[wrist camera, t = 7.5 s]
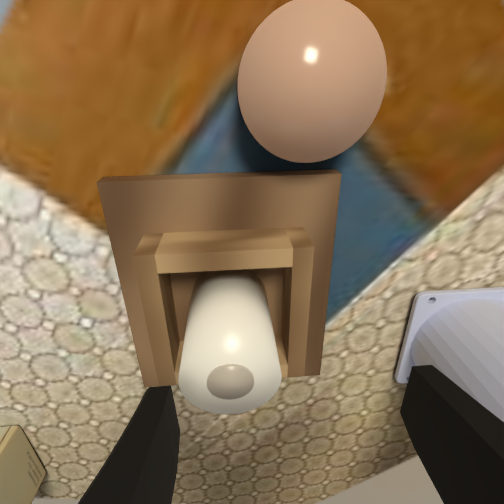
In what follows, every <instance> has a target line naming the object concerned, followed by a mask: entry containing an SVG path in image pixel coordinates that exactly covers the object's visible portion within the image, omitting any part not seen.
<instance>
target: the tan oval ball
mask: <svg viewBox="0 0 504 504" xmlns="http://www.w3.org/2000/svg"><path fill="white" fill-rule="evenodd" d="M386 78H387V64H386V57H385V51H384V48H383V44H382V41H381V39H380V37H379V34H378V32H377V30H376V29H375V27H374V25H373V24H372V22H371V21H370V20H369V19H368V18H367V16H366V15H365V14H364V13H363V12H361V11H360V10H359V9H358V8H357V7H355V6H353V5H352V4H350V3H349V2H346V1H344V0H293V1H291V2H288V3H286V4H284V5H283V6H281V7H280V8H278V9H276V10H275V11H274V12H273V13H271V14H270V15H269V16H268V17H267V18H266V19H265V20H264V21H263V22H262V23H261V24H260V25H259V26H258V28H257V29H256V31H255V32H254V34H253V35H252V37H251V38H250V40H249V42H248V44H247V46H246V48H245V51H244V54H243V56H242V60H241V64H240V67H239V74H238V100H239V105H240V110H241V113H242V116H243V119H244V121H245V123H246V125H247V127H248V129H249V131H250V132H251V134H252V135H253V137H254V138H255V139H256V140H257V141H258V142H259V144H260V145H262V146H263V147H264V148H265V149H266V150H267V151H269V152H271V153H272V154H274V155H276V156H278V157H280V158H282V159H285V160H288V161H292V162H298V163H311V162H318V161H323V160H326V159H329V158H332V157H334V156H336V155H338V154H340V153H342V152H344V151H345V150H347V149H348V148H350V147H351V146H352V145H353V144H354V143H355V142H357V141H358V140H359V139H360V138H361V136H362V135H363V134H364V133H365V132H366V131H367V129H368V128H369V127H370V125H371V123H372V122H373V120H374V118H375V117H376V115H377V112H378V110H379V108H380V105H381V102H382V99H383V96H384V92H385V87H386Z"/></svg>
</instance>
